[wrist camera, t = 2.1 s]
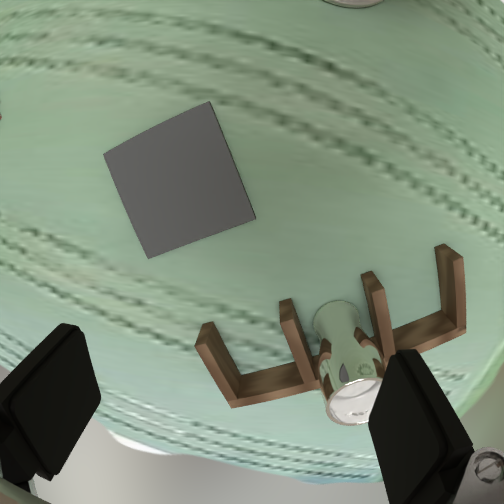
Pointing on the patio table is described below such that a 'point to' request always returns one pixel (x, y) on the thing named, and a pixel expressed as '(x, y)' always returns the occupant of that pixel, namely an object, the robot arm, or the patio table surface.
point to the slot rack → (306, 367)
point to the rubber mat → (179, 182)
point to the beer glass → (347, 364)
